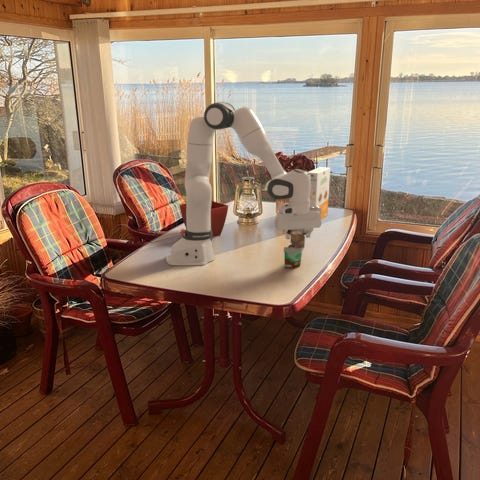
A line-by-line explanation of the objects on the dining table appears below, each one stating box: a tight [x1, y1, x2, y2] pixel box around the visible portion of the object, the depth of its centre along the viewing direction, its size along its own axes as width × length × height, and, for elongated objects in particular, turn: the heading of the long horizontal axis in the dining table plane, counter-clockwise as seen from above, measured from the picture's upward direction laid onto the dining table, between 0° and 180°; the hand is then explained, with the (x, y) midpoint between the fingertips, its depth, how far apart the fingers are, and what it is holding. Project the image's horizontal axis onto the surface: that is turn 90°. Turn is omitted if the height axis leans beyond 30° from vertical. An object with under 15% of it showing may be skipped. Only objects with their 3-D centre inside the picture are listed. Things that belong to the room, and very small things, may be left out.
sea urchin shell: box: [288, 228, 309, 235], centre depth 263 cm, size 13×14×8 cm
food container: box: [283, 244, 305, 269], centre depth 211 cm, size 12×6×10 cm, turn 148°
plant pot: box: [179, 200, 229, 238], centre depth 254 cm, size 19×19×17 cm
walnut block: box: [290, 231, 306, 249], centre depth 208 cm, size 4×8×5 cm, turn 10°
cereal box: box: [307, 166, 331, 221], centre depth 285 cm, size 22×6×30 cm, turn 151°
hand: (297, 238), depth 208 cm, fingers open, 8 cm apart
